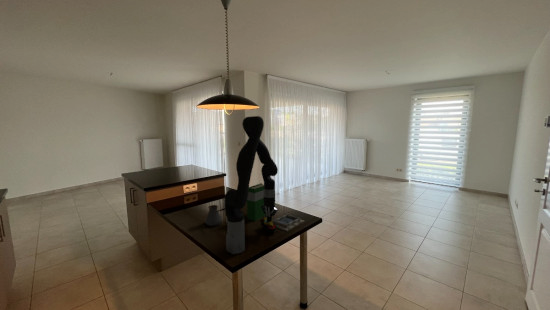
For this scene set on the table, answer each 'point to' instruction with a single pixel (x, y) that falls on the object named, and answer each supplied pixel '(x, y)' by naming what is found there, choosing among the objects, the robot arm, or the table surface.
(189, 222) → the table surface
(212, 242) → the table surface
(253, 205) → the hardback book
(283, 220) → the window
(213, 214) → the coffee pot
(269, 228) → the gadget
